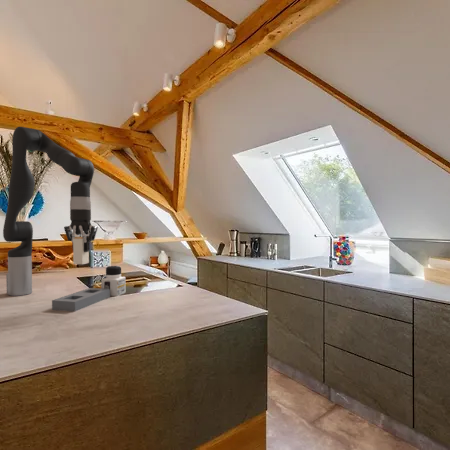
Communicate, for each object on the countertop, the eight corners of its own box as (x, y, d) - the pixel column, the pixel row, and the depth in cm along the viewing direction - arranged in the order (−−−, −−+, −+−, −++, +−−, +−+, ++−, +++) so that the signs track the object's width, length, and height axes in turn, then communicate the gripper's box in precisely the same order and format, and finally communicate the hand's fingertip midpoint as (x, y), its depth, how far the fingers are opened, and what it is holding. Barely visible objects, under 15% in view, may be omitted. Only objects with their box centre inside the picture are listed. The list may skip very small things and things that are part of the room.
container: (117, 297, 141) (116, 267, 141) (101, 296, 142) (100, 267, 142) (125, 293, 148) (125, 265, 148) (110, 292, 150) (110, 264, 150)
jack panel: (52, 311, 120) (52, 300, 120) (89, 296, 141) (89, 287, 141) (75, 312, 118) (75, 301, 118) (110, 298, 139) (109, 289, 139)
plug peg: (73, 264, 126) (73, 237, 126) (80, 262, 130) (79, 236, 130) (82, 264, 125) (82, 237, 125) (88, 262, 129) (88, 236, 129)
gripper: (58, 208, 125) (58, 252, 126) (90, 208, 122) (91, 253, 123) (71, 209, 133) (71, 250, 133) (102, 208, 130) (102, 251, 130)
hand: (81, 251), depth 128 cm, fingers closed on plug peg, 4 cm apart
